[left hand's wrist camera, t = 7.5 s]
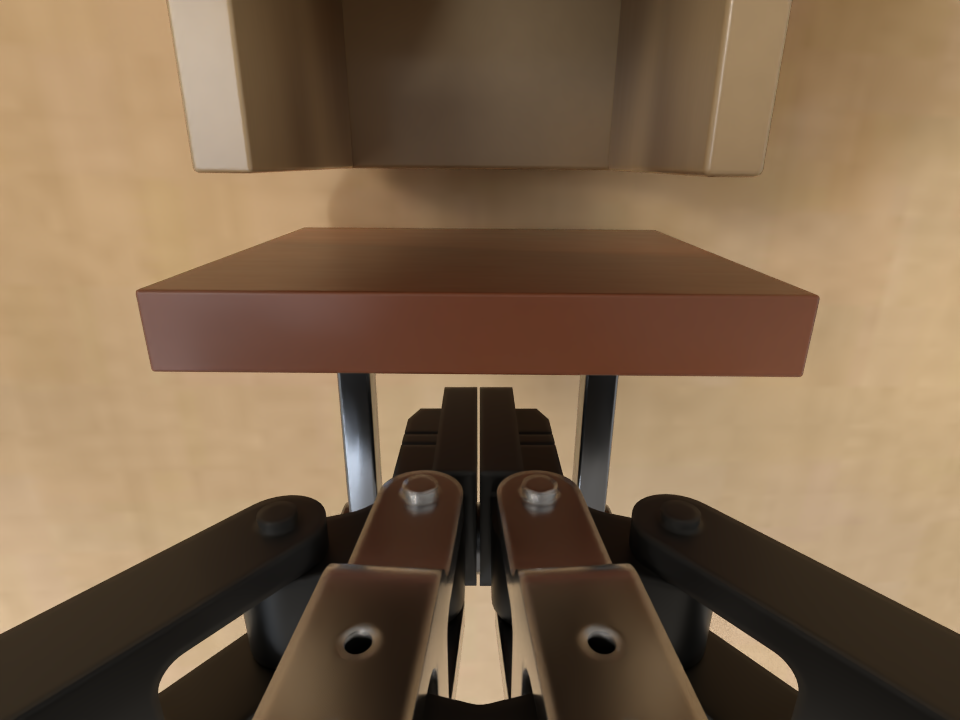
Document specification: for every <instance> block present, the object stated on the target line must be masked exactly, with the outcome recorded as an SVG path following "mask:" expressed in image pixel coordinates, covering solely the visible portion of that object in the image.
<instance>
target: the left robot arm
mask: <svg viewBox="0 0 960 720" xmlns="http://www.w3.org/2000/svg"><path fill="white" fill-rule="evenodd" d="M476 576H477V387H445V389H444V396H443V402H442V409H420V410H419V411H417V412H416V413H415V414H414V415H413V416H412V417H410V418H409V419H408V422H407V426H406V430H405V434H404V437H403V441H402V445H401V448H400V452H399V456H398V459H397V463H396V467H395V471H394V474H393V478H392V479H390V480H388V481H387V482H386V483H385V484H384V485H383V486H382V487H381V489H380V490H379V492H378V495H377V497H376V499H375V502H374V503H373V504H371V505H369V506H367V507H365V508H363V509H360V510H357V511H353V512H349V513H345V514H340V515H335V516H330V517H326V512H325V509H324V507H323V506H322V504H321V503H319V502H318V501H316V500H314V499H312V498H309V497H306V496H298V495H288V496H280V497H274V498H270V499H267V500H264V501H261V502H259V503H256V504H254V505H252V506H250V507H248V508H246V509H244V510H242V511H240V512H239V513H237V514H235V515H233V516H231V517H229V518H227V519H225V520H223V521H221V522H219V523H217V524H215V525H213V526H211V527H209V528H207V529H205V530H203V531H201V532H199V533H197V534H195V535H194V536H192V537H190V538H188V539H186V540H184V541H182V542H180V543H178V544H176V545H174V546H172V547H170V548H168V549H166V550H164V551H162V552H160V553H158V554H156V555H154V556H152V557H151V558H149V559H147V560H145V561H143V562H141V563H139V564H137V565H135V566H133V567H131V568H129V569H127V570H125V571H123V572H121V573H119V574H117V575H115V576H113V577H111V578H109V579H108V580H106V581H104V582H102V583H100V584H98V585H96V586H94V587H92V588H90V589H88V590H86V591H84V592H82V593H80V594H78V595H76V596H74V597H72V598H70V599H68V600H66V601H65V602H63V603H61V604H59V605H57V606H55V607H53V608H51V609H49V610H47V611H45V612H43V613H41V614H39V615H37V616H35V617H33V618H31V619H29V620H27V621H25V622H23V623H22V624H20V625H18V626H16V627H14V628H12V629H10V630H8V631H6V632H4V633H2V634H0V720H960V634H958V633H956V632H954V631H952V630H950V629H948V628H946V627H944V626H942V625H940V624H938V623H937V622H935V621H933V620H931V619H929V618H927V617H925V616H923V615H921V614H919V613H917V612H915V611H913V610H911V609H909V608H907V607H905V606H903V605H901V604H899V603H897V602H895V601H894V600H892V599H890V598H888V597H886V596H884V595H882V594H880V593H878V592H876V591H874V590H872V589H870V588H868V587H866V586H864V585H862V584H860V583H858V582H856V581H854V580H852V579H851V578H849V577H847V576H845V575H843V574H841V573H839V572H837V571H835V570H833V569H831V568H829V567H827V566H825V565H823V564H821V563H819V562H817V561H815V560H813V559H811V558H809V557H808V556H806V555H804V554H802V553H800V552H798V551H796V550H794V549H792V548H790V547H788V546H786V545H784V544H782V543H780V542H778V541H776V540H774V539H772V538H770V537H768V536H766V535H764V534H763V533H761V532H759V531H757V530H755V529H753V528H751V527H749V526H747V525H745V524H743V523H741V522H739V521H737V520H735V519H733V518H731V517H729V516H727V515H725V514H723V513H721V512H720V511H718V510H716V509H714V508H712V507H710V506H708V505H706V504H704V503H702V502H699V501H697V500H694V499H691V498H688V497H684V496H679V495H671V494H659V495H652V496H649V497H646V498H643V499H641V500H640V501H639V502H637V503H636V505H635V506H634V508H633V510H632V518H630V517H625V516H620V515H615V514H610V513H606V512H602V511H599V510H596V509H593V508H591V507H588V506H587V504H586V502H585V499H584V497H583V495H582V492H581V490H580V489H579V487H578V486H577V485H576V484H575V483H574V482H573V481H571V480H570V479H568V478H566V477H564V476H563V473H562V469H561V465H560V461H559V457H558V454H557V450H556V446H555V442H554V438H553V435H552V430H551V427H550V423H549V419H548V418H546V417H545V416H544V415H543V414H542V413H541V412H540V411H538V410H537V409H515V403H514V396H513V389H512V387H480V586H491V592H492V604H493V607H494V609H495V626H496V634H497V642H498V650H499V658H500V666H501V674H502V681H503V689H504V697H505V700H502V701H498V702H494V703H490V704H484V705H476V704H470V703H466V702H462V701H458V700H455V697H456V689H457V681H458V673H459V665H460V657H461V649H462V642H463V634H464V626H465V613H464V595H465V586H476ZM712 611H713V612H715V613H716V614H718V615H719V616H721V617H722V618H724V619H725V620H727V621H728V622H730V623H731V624H733V625H734V626H736V627H737V628H739V629H740V630H742V631H743V632H745V633H746V634H748V635H749V636H751V637H752V638H754V639H755V640H757V641H758V642H760V643H761V644H763V645H764V646H766V647H768V648H769V649H771V650H772V651H774V652H775V653H776V654H778V655H779V656H780V657H781V658H782V659H783V660H784V661H785V662H786V663H787V664H788V666H789V667H790V668H791V670H792V671H793V673H794V675H795V677H796V679H797V683H798V688H799V691H797V690H795V689H794V688H792V687H791V686H789V685H788V684H787V683H785V682H784V681H782V680H781V679H779V678H778V677H776V676H775V675H774V674H772V673H771V672H769V671H768V670H766V669H765V668H763V667H762V666H761V665H759V664H758V663H756V662H755V661H753V660H752V659H750V658H749V657H748V656H746V655H745V654H743V653H742V652H740V651H739V650H737V649H736V648H735V647H733V646H732V645H730V644H729V643H727V642H726V641H724V640H723V639H721V638H720V637H719V636H717V635H716V634H714V633H713V632H711V631H710V630H709V627H710V622H711V617H712ZM242 614H244V619H245V624H246V629H247V633H246V634H244V635H243V636H241V637H240V638H239V639H237V640H236V641H234V642H233V643H231V644H230V645H228V646H227V647H225V648H224V649H223V650H221V651H220V652H218V653H217V654H215V655H214V656H212V657H211V658H210V659H208V660H207V661H205V662H204V663H202V664H201V665H199V666H198V667H197V668H195V669H194V670H192V671H191V672H189V673H188V674H186V675H185V676H184V677H182V678H181V679H179V680H178V681H176V682H175V683H173V684H172V685H170V686H169V687H168V688H166V689H165V690H163V691H162V692H160V693H159V694H158V687H159V683H160V681H161V678H162V676H163V675H164V673H165V671H166V670H167V669H168V667H169V666H170V665H171V664H172V663H173V662H174V661H175V660H176V659H177V658H178V657H179V656H181V655H182V654H183V653H185V652H186V651H188V650H189V649H191V648H192V647H194V646H195V645H197V644H199V643H200V642H202V641H203V640H205V639H206V638H208V637H209V636H211V635H212V634H214V633H215V632H217V631H218V630H220V629H221V628H223V627H224V626H226V625H227V624H229V623H230V622H232V621H233V620H235V619H236V618H238V617H239V616H241V615H242Z"/></svg>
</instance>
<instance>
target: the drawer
mask: <svg viewBox="0 0 960 720" xmlns="http://www.w3.org/2000/svg"><path fill="white" fill-rule="evenodd" d="M166 1H167V8H168V14H169V20H170V26H171V33H172V39H173V45H174V51H175V58H176V64H177V70H178V76H179V83H180V89H181V95H182V101H183V108H184V114H185V120H186V126H187V133H188V139H189V145H190V151H191V158H192V164H193V169H194V171H196V172H198V173H262V172H282V171H302V170H322V169H341V168H418V169H543V170H617V171H632V172H646V173H661V174H676V175H690V176H705V177H755V176H758V175H760V174H761V173H762V171H763V167H764V161H765V155H766V150H767V144H768V138H769V132H770V126H771V121H772V115H773V109H774V103H775V97H776V92H777V86H778V80H779V74H780V68H781V63H782V57H783V51H784V45H785V39H786V33H787V28H788V22H789V16H790V10H791V4H792V0H166ZM136 297H137V302H138V306H139V311H140V316H141V321H142V326H143V330H144V335H145V340H146V345H147V350H148V354H149V359H150V364H151V369H152V370H153V371H163V372H280V373H337V378H338V389H339V401H340V412H341V424H342V435H343V447H344V458H345V470H346V482H347V493H348V502H347V503H346V504H345V506H344V508H343V510H342V513H341V514H345V513H349V512H353V511H357V510H360V509H363V508H365V507H367V506H369V505H371V504H373V503H374V502H375V499H376V497H377V495H378V492H379V490H380V489H381V487H382V475H381V459H380V442H379V426H378V410H377V393H376V377H375V373H397V374H515V375H580V386H579V399H578V413H577V426H576V440H575V453H574V466H573V480H572V481H573V482H574V483H575V484H576V485H577V486H578V487H579V489H580V490H581V492H582V495H583V497H584V499H585V502H586V504H587V506H588V507H591V508H593V509H596V510H599V511H602V512H606V513H610V514H612V513H611V510H610V508H609V506H608V505H606V496H607V486H608V476H609V466H610V456H611V446H612V436H613V426H614V416H615V406H616V396H617V386H618V376H619V375H632V376H749V377H801V376H802V375H803V371H804V367H805V362H806V358H807V353H808V349H809V344H810V340H811V335H812V331H813V326H814V322H815V317H816V313H817V308H818V304H819V296H818V295H815V294H813V293H810V292H808V291H805V290H803V289H800V288H798V287H795V286H793V285H790V284H788V283H785V282H783V281H780V280H778V279H775V278H773V277H770V276H768V275H765V274H763V273H760V272H758V271H755V270H753V269H750V268H748V267H745V266H743V265H740V264H738V263H735V262H733V261H730V260H728V259H725V258H723V257H720V256H718V255H715V254H713V253H710V252H708V251H705V250H703V249H700V248H698V247H695V246H693V245H690V244H688V243H685V242H683V241H680V240H678V239H675V238H673V237H670V236H668V235H665V234H663V233H660V232H658V231H655V230H538V229H416V228H302V229H300V230H297V231H294V232H291V233H289V234H286V235H283V236H281V237H278V238H275V239H273V240H270V241H267V242H265V243H262V244H259V245H257V246H254V247H251V248H249V249H246V250H243V251H240V252H238V253H235V254H232V255H230V256H227V257H224V258H222V259H219V260H216V261H214V262H211V263H208V264H206V265H203V266H200V267H197V268H195V269H192V270H189V271H187V272H184V273H181V274H179V275H176V276H173V277H171V278H168V279H165V280H163V281H160V282H157V283H155V284H152V285H149V286H146V287H144V288H141V289H139V290H137V291H136ZM477 574H480V502H477Z"/></svg>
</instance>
